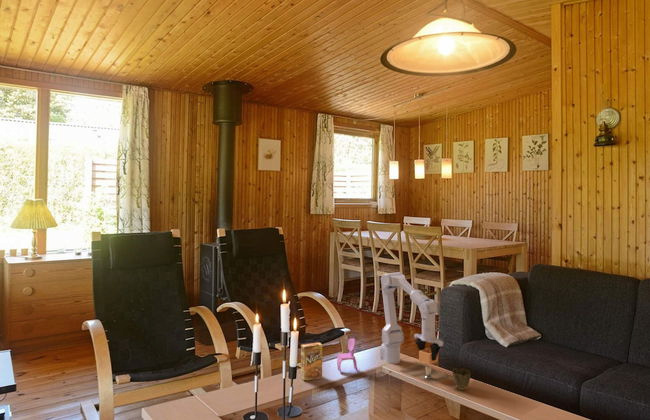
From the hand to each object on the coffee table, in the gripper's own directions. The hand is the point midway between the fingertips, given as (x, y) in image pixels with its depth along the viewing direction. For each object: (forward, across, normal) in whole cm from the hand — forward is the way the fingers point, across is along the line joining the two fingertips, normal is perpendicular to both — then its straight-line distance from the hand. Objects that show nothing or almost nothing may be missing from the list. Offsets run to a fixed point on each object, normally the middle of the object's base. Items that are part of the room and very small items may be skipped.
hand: (428, 358), depth 205 cm
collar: (+1, 0, 0) cm, 1 cm away
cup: (+10, +16, +2) cm, 18 cm away
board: (+10, -4, +2) cm, 10 cm away
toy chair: (+10, -30, -21) cm, 38 cm away
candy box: (+10, -34, -39) cm, 53 cm away
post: (+10, 0, 0) cm, 10 cm away
